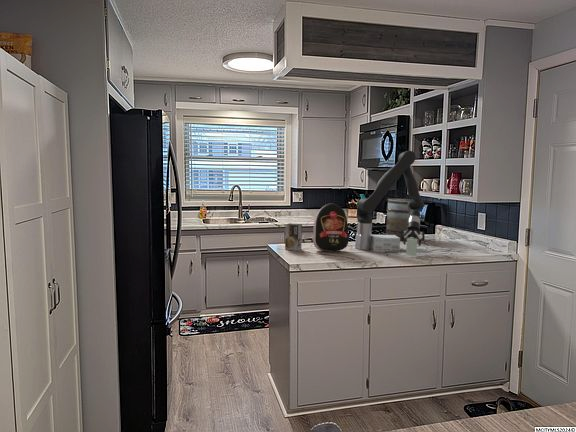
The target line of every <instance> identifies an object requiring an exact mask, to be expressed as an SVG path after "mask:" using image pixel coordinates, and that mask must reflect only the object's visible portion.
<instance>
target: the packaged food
mask: <svg viewBox="0 0 576 432" xmlns="http://www.w3.org/2000/svg"><path fill="white" fill-rule="evenodd" d="M347 218H348V217H347V215H346V213H345V210H344V208H342V207H341V206H339V205H338V204H335V203H333V202H332V203H328V204H325V205H323V206H322V207H321V208H320V209H319V210H318V211H317V213H316V216H315V218H314V222H313V230H312V231H313V232H312V233H313V234H312V235H313V238H312V241H313V245H314V247H315V249H316V250H318V251H323V252H337V251H342V250H344V249H346V248H347V246H348V245H349V239H350V238H349V237H350V235H349V234H350V232H349V224H348V219H347Z"/></svg>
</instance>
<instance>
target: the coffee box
mask: <svg viewBox="0 0 576 432" xmlns="http://www.w3.org/2000/svg"><path fill="white" fill-rule="evenodd" d="M302 237H303V224H300V223H292V222H291V223H290V222H289V223H287V224H285V237H284V239H285V240H284V242H285V243H284V244H285V245H284V250H289V251H300V250H302V239H303V238H302Z"/></svg>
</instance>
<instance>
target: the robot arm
mask: <svg viewBox="0 0 576 432" xmlns="http://www.w3.org/2000/svg"><path fill="white" fill-rule="evenodd" d="M416 157H417V155H416V153H415V152H414V151H413V150H406V151H403V152H401V153H400V154H399V155H398V159H397V160H398V161H397V163H395V165H393V166H392V167H391V168H389V169H388V170H387V171H386V172H385V173H384V174H383V175H382V176H381V178H380V179H379V180H378V182H377V184H376V186H375V189H374V191H373V192H372V193H371V194H370V195H369V197H366V198H365V197H364V198H363V197H362V198H360V199H359V200H358V202H357V204H356V217H357V228H356V229H357V231H356V234H355V246H354V247H355V248H354V249H357V250H359V251H360V250H365V251H367V250H372V249H371V235H372V230H373V218H372V217H371V213H372V212H373V211H375V210H376V208H377V206H379V204H380V202H381V200H382V199H383V198H384V197H385V196H386V195H387V193H388V192H389V191H390V190H391V189H392V188H393V187H394V185H396V183H397V182H398V180H399V179H400V178H401V177H402V176H403V177H404V182H405V185H406V191H407V192H406V193H407V196H408V197H410V198H413V197H414V198H415V199H413V200H411V201H409V202H408V204H407V206H408V209H409V219H408V227H407V231H404V230H402V233H401V239H403V241H402V244H403V245H404V246H405V245H407V241H406V239H407V238H408V237H410V238H411V237H414V238H418V239H417V241H418V247H420V246H422V242H425V235H426V234H425V231H424V230H423V231H420V228H421V227H420V226H421V210H423V209H424V208H425V202H424V200H423V198H422V196H421V194H420V191H419V185H418V183H417V180H416V177H415V175H414V173H413V171H412V165H413V164H414V163H415V162H416ZM419 210H420V211H419ZM405 233H406V236H404V237H403V235H404V234H405ZM420 235H421V236H420Z"/></svg>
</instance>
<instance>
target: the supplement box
mask: <svg viewBox="0 0 576 432" xmlns="http://www.w3.org/2000/svg"><path fill="white" fill-rule="evenodd" d="M400 248H401V241H400V238H399V237H397V236H396V235H386V234H371V249H370V250H372V251H373V252H377V253H379V252H380V253H381V252H383V253H384V252H400V251H401V250H400Z"/></svg>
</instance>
